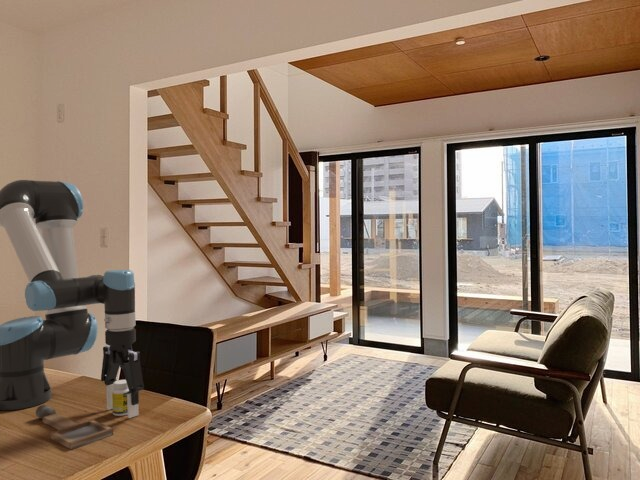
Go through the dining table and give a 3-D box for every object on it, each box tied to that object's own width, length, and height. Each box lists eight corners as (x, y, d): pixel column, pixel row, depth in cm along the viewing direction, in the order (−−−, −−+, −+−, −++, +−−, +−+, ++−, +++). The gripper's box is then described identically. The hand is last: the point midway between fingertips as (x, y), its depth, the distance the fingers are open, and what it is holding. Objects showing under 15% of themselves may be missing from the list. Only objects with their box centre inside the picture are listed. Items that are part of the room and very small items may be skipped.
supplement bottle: (125, 416, 130) (124, 385, 130) (108, 415, 131) (108, 384, 131) (135, 410, 135) (134, 379, 135) (119, 409, 136) (119, 378, 136)
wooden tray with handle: (21, 423, 127) (21, 410, 127) (61, 411, 135) (61, 399, 135) (71, 449, 111) (71, 435, 111) (113, 434, 119) (113, 421, 119)
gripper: (85, 326, 136) (87, 407, 137) (131, 336, 123) (133, 426, 124) (111, 321, 142) (113, 399, 143) (157, 330, 129) (159, 416, 130)
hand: (122, 412), depth 133 cm, fingers open, 9 cm apart
